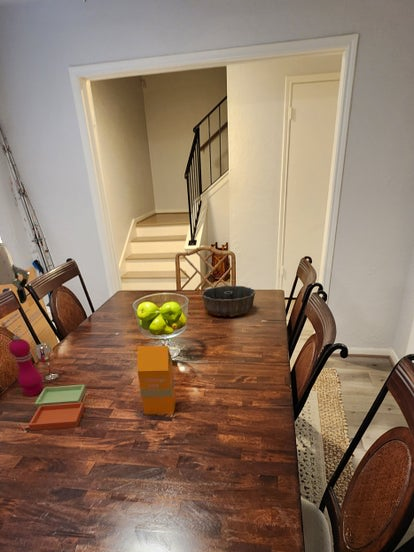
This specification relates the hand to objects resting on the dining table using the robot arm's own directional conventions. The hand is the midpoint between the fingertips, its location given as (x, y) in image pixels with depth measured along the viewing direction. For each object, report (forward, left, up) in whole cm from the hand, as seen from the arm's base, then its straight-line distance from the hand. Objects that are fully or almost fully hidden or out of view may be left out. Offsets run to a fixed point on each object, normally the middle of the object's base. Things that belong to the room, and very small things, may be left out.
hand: (7, 303), depth 109 cm
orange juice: (+42, -16, -30) cm, 55 cm away
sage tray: (+10, -7, -30) cm, 32 cm away
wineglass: (+2, +10, -30) cm, 32 cm away
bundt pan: (+73, +69, -30) cm, 105 cm away
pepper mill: (-1, 0, -30) cm, 30 cm away
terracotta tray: (+12, -18, -30) cm, 37 cm away
